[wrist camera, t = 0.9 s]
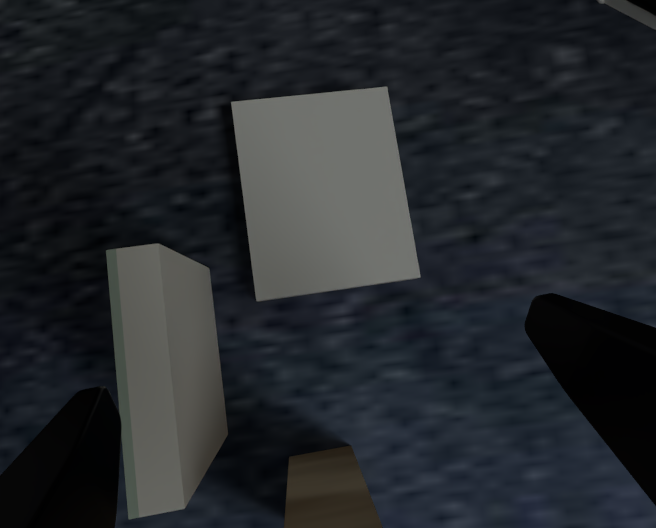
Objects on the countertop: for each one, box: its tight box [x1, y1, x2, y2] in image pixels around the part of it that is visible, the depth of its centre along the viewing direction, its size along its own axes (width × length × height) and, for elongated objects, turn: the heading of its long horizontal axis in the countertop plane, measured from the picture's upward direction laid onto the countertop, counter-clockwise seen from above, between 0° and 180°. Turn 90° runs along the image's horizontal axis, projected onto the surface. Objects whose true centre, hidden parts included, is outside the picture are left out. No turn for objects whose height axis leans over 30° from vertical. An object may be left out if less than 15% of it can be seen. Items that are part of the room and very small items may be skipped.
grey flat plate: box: [231, 87, 420, 302], centre depth 19 cm, size 10×8×1 cm
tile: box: [106, 243, 228, 519], centre depth 15 cm, size 8×2×7 cm, turn 8°
